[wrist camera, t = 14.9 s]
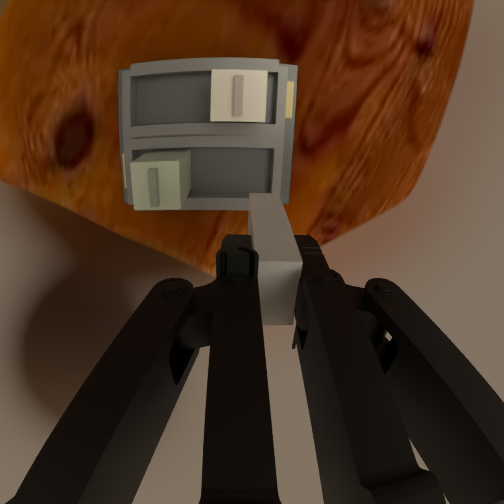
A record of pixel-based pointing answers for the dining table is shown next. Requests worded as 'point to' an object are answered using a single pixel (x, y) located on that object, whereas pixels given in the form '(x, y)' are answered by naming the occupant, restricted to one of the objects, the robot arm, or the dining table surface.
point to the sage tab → (161, 179)
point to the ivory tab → (238, 95)
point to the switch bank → (208, 129)
